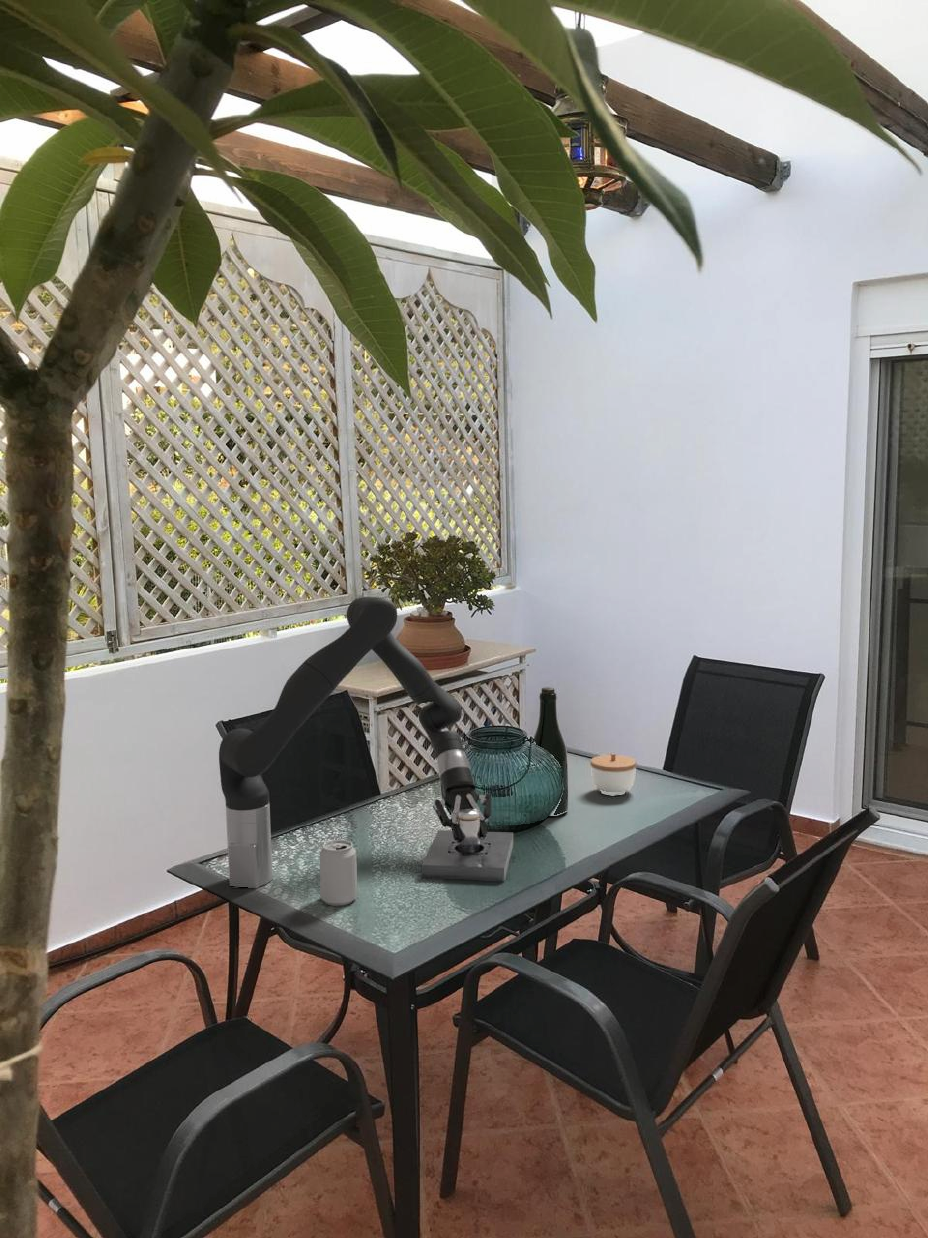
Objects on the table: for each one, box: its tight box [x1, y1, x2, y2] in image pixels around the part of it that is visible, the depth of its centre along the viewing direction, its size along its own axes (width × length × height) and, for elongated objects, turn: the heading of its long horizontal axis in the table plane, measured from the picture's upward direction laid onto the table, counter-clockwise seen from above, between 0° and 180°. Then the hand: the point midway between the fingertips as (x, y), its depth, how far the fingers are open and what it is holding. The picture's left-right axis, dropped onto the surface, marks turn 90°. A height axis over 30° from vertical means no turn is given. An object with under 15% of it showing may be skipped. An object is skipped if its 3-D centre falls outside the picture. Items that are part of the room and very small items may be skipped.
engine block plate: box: [421, 829, 514, 882], centre depth 220 cm, size 22×18×3 cm
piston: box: [457, 808, 481, 854], centre depth 219 cm, size 5×5×10 cm
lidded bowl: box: [590, 752, 637, 792], centre depth 268 cm, size 13×13×11 cm
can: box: [318, 839, 358, 907], centre depth 199 cm, size 8×8×12 cm
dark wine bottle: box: [532, 686, 570, 815], centre depth 251 cm, size 10×10×33 cm
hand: (471, 839), depth 218 cm, fingers closed on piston, 5 cm apart
